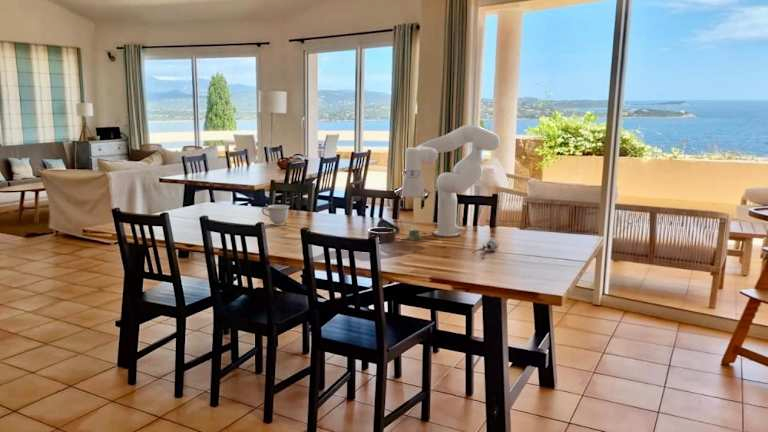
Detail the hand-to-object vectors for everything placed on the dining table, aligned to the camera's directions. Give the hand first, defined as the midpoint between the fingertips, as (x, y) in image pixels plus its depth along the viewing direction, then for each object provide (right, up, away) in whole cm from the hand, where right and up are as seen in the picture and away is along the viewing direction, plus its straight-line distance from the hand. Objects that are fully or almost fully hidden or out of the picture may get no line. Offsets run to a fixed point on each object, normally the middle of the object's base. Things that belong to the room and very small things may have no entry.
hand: (412, 208), depth 282 cm
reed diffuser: (+31, -21, -27) cm, 46 cm away
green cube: (+1, -15, +2) cm, 15 cm away
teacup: (-72, -9, +33) cm, 80 cm away
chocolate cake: (-11, -12, +18) cm, 25 cm away
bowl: (-15, -15, -2) cm, 21 cm away
